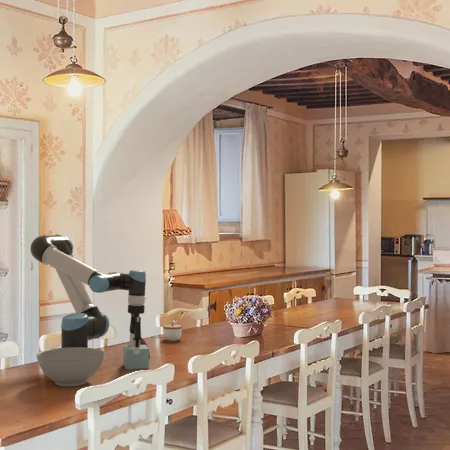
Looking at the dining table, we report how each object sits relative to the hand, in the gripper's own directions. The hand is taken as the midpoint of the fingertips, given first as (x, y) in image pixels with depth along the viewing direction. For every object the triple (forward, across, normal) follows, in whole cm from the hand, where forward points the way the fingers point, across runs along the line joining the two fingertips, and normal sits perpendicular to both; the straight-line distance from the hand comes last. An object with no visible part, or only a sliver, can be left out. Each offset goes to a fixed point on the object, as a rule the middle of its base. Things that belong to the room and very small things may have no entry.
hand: (134, 350), depth 312 cm
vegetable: (+8, +17, -5) cm, 20 cm away
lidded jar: (+8, +63, -30) cm, 70 cm away
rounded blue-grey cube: (+7, -1, -1) cm, 7 cm away
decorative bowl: (+7, -26, +29) cm, 40 cm away
